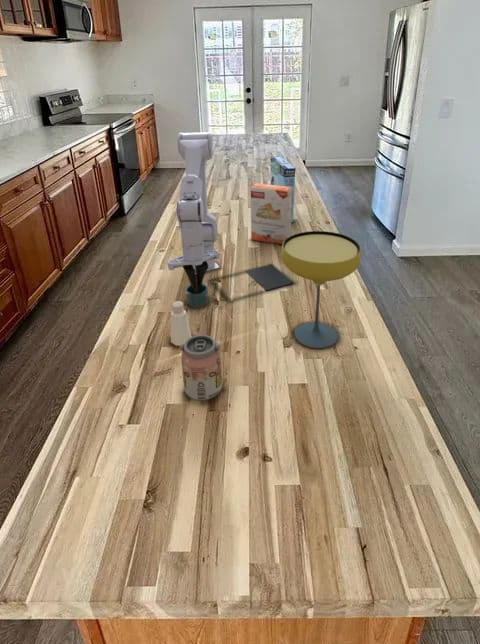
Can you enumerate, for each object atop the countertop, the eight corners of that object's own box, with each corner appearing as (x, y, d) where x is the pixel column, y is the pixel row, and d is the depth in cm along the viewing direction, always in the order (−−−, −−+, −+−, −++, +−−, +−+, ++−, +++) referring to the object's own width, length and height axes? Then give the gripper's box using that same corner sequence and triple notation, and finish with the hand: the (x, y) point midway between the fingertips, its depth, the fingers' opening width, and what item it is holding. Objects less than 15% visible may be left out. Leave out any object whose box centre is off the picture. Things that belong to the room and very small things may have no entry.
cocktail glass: (364, 353, 103) (375, 259, 93) (290, 362, 101) (293, 267, 90) (337, 311, 120) (344, 227, 109) (273, 319, 117) (273, 233, 106)
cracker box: (250, 240, 164) (249, 187, 155) (256, 234, 169) (255, 182, 160) (286, 245, 159) (287, 190, 150) (291, 239, 164) (292, 185, 155)
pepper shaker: (168, 337, 111) (163, 300, 106) (188, 332, 113) (185, 295, 108) (173, 349, 106) (169, 311, 102) (194, 343, 108) (191, 306, 103)
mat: (210, 280, 137) (210, 279, 137) (271, 265, 145) (271, 264, 145) (228, 301, 126) (228, 300, 125) (293, 283, 134) (293, 282, 134)
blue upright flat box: (269, 208, 196) (269, 157, 186) (280, 206, 197) (281, 156, 187) (282, 223, 179) (283, 168, 169) (294, 222, 180) (295, 167, 170)
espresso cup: (183, 300, 127) (182, 286, 125) (203, 294, 129) (202, 281, 127) (191, 310, 122) (189, 296, 120) (211, 304, 124) (210, 291, 122)
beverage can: (187, 372, 99) (183, 328, 94) (224, 372, 99) (222, 328, 93) (181, 402, 91) (175, 356, 85) (221, 403, 90) (218, 357, 85)
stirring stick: (194, 299, 126) (192, 272, 122) (198, 298, 126) (196, 271, 122) (196, 301, 125) (193, 274, 121) (200, 300, 125) (198, 273, 121)
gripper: (171, 253, 111) (176, 299, 117) (223, 242, 117) (225, 286, 123) (163, 243, 117) (168, 287, 123) (213, 233, 123) (215, 275, 129)
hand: (196, 286), depth 123 cm, fingers closed on stirring stick, 1 cm apart
